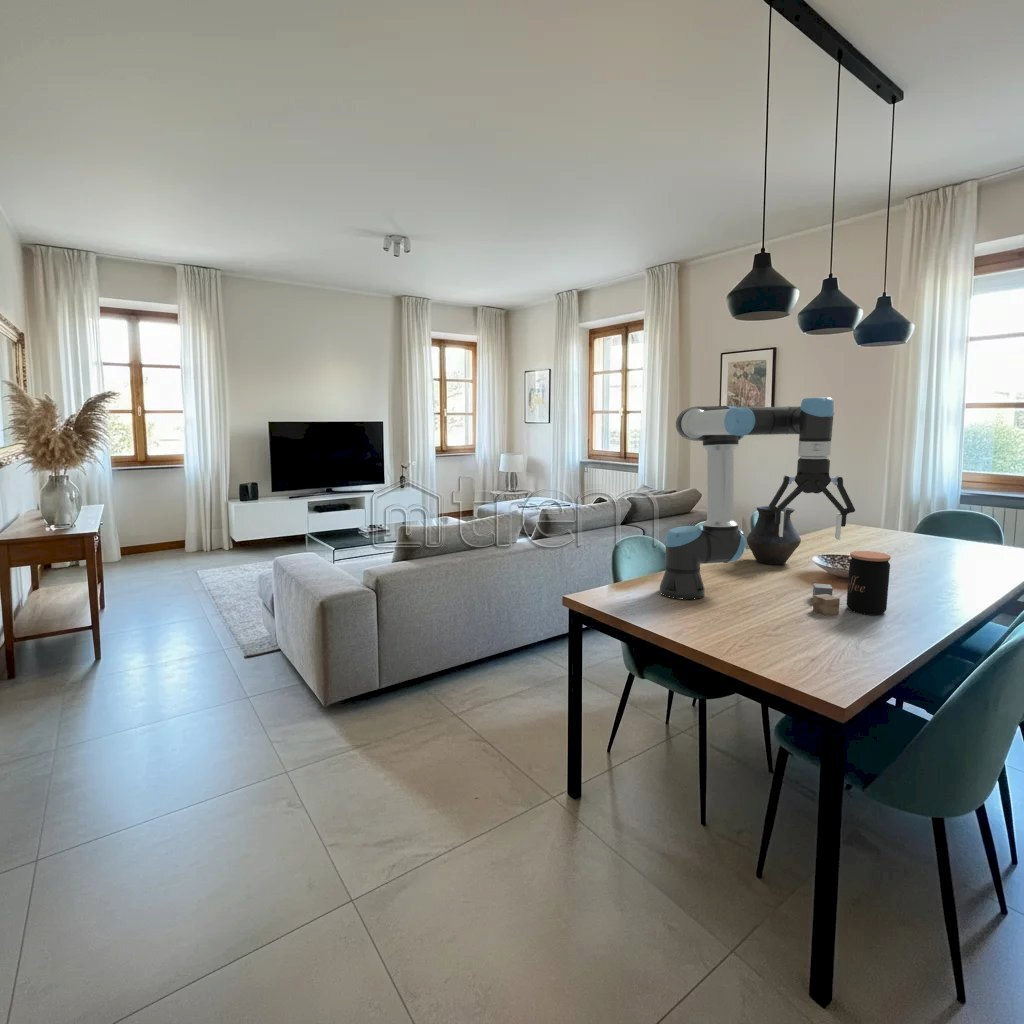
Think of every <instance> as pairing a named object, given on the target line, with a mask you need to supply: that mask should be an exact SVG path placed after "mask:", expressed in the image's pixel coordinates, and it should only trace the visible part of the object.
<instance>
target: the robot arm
mask: <svg viewBox="0 0 1024 1024" xmlns="http://www.w3.org/2000/svg"><path fill="white" fill-rule="evenodd" d="M834 411H835V410H834V399H833V398H832V397H806V398H803V399H802V400H801V403H800V406H766V407H765V406H762V407H761V406H757V407H756V406H755V407H753V406H751V407H750V406H749V407H747V406H738V407H737V406H731V405H722V406H721V405H714V406H713V405H710V406H708V405H707V406H701V405H700V406H698V405H697V406H691V407H688V408H686V409H684V410H682V411H681V412H680V413H679V414H678V416H677V418H676V419H675V428H676V431H677V433H678V435H679V436H680V437H682V438H683V439H686V440H688V441H693V442H695V441H696V442H698V441H699V442H701V441H702V447H703V448H704V449H705V450H706V452H707V458H706V467H707V468H706V469H707V471H706V472H707V474H706V475H707V476H706V477H707V478H706V479H707V480H706V481H707V482H706V485H707V490H706V491H707V492H706V496H707V497H706V498H707V499H706V502H707V503H706V505H707V507H706V508H707V509H706V511H707V512H706V516H707V517H706V520H705V521H704V522H703V523H702V528H701V527H700V526H697V525H688V526H687V525H683V526H678V527H673V528H671V529H669V530H668V531H667V533H666V535H665V543H664V544H665V554H664V555H665V559H664V560H665V563H664V564H665V568H664V574H663V575H662V579H661V582H660V584H659V593H662V594H664V595H666V596H670V597H674V598H683V599H693V600H695V599H694V598H699V599H701V598H700V597H702V596H704V597H705V595H704V594H705V592H706V591H705V585H704V582H703V579H702V576H701V565H703V564H705V565H706V564H719V563H723V564H726V563H731V562H737V561H738V560H739V559H741V557H742V556H743V554H744V552H745V549H746V536H745V534H744V531H742V529H741V528H739V524H738V522H736V521H735V520H734V502H735V501H734V494H735V493H734V492H735V491H734V483H735V482H734V476H735V475H734V474H735V473H734V472H735V470H734V469H735V468H734V466H735V465H734V464H735V461H734V460H735V457H734V456H735V455H734V452H735V449H736V448H737V447H738V446H739V441H740V440H742V439H743V438H744V437H745V436H758V435H763V436H764V435H765V436H766V435H770V436H771V435H773V436H775V435H798V437H799V438H798V447H797V449H798V450H797V456H798V457H799V458H798V459H797V467H796V475H795V476H790V475H788V474H786V475H784V476H783V477H782V478H783V479H782V484H781V485H780V486H779V489H778V490H776V491H777V492H776V493H775V495H774V496H773V498H772V500H771V501H770V503H769V504H768V506H769V509H770V510H773V511H775V512H776V514H775V522H776V524H779V536H780V537H783V524H784V512H782V510H783V509H784V508H785V507H787V506H788V505H789V504H791V502H792V501H794V500H795V499H796V497H798V496H799V495H800V494H801V493H802V492H803V493H805V494H820V493H823V494H824V496H826V498H827V499H828V500H829V501H830V503H832V505H833V506H834V507H835V508H836V509H837V510H838V513H836V519H835V531H834V533H835V534H834V538H835V539H836V540H841V533H842V527H846V525H847V524H846V523H847V516H848V514H850V513H854V512H856V508H855V507H854V505H853V502H852V500H851V498H850V496H849V494H848V491H847V490H846V488H845V486H844V478H843V477H842V476H840V475H837V476H833V477H831V476H830V467H831V466H830V465H831V460H830V459H829V458H828V457H830V456H831V453H832V451H831V449H832V447H831V446H832V438H833V436H832V435H833V424H834V415H835V412H834ZM793 482H795V484H796V487H795V488H794V490H793V491H791V493H790V494H789V495H787V496H786V498H784V500H782V501H781V502H780V503H779V501H780V499H781V498H782V496H783V494H784V493H785V491H786V490H787V488H788V487H789V485H791V484H793ZM831 482H832V484H833V485H834V486H836V488H837V490H838V492H839V494H840V497H841V499H842V500H843V502H844V504H845V506H846V507H843V505H842V504H841V503H840V502H839V501H838V499H837V498H836V497H835V495H833V494H832V492H831V491H830V490H829V489H828V488H827V487H828V486H829V485H830V483H831ZM778 503H779V504H778ZM777 504H778V505H777ZM702 598H703V597H702Z"/></svg>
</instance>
